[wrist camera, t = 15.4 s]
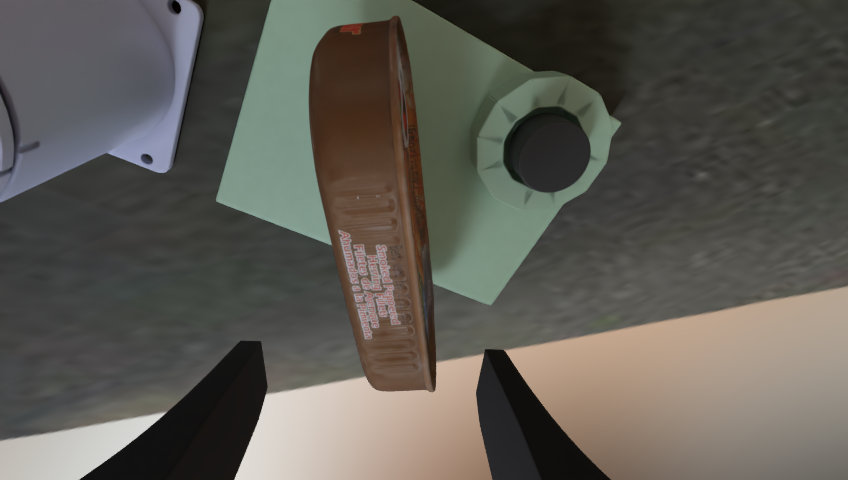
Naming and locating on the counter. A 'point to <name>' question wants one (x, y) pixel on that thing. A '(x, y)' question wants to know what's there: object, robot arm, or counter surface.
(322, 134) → the tin
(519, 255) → the pale green flat piece
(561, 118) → the button
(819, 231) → the counter surface
